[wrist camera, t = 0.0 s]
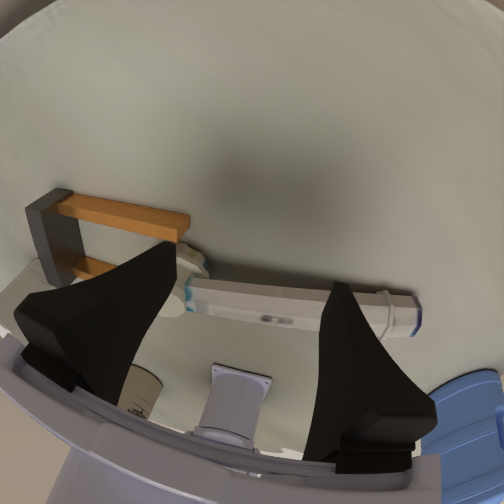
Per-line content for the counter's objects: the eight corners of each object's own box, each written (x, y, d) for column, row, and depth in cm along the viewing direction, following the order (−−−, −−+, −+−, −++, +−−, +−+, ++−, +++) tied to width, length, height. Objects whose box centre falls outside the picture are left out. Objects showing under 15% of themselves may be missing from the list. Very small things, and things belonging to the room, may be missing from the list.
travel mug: (135, 383, 46) (98, 458, 31) (116, 359, 42) (70, 440, 27) (169, 392, 44) (133, 475, 29) (151, 368, 40) (106, 460, 25)
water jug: (411, 422, 37) (406, 556, 14) (424, 383, 30) (425, 567, 7) (482, 402, 32) (492, 528, 9) (510, 356, 24) (537, 518, 1)
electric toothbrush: (405, 352, 22) (130, 327, 22) (387, 303, 27) (153, 279, 27) (432, 313, 19) (116, 282, 19) (406, 265, 24) (147, 236, 25)
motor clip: (189, 298, 28) (170, 333, 24) (71, 260, 30) (48, 283, 26) (189, 212, 23) (162, 243, 19) (56, 187, 24) (24, 208, 20)
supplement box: (35, 256, 32) (-17, 309, 22) (66, 270, 32) (9, 333, 21) (48, 291, 36) (4, 343, 26) (78, 307, 36) (33, 366, 26)
